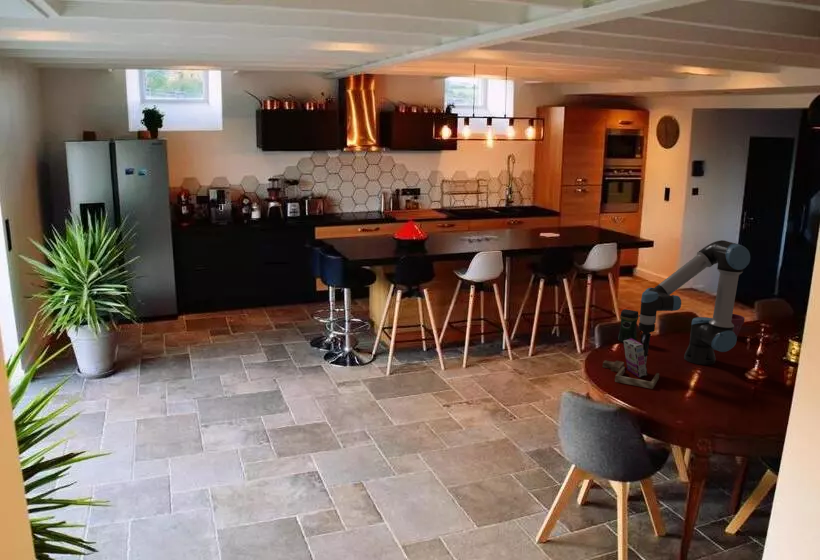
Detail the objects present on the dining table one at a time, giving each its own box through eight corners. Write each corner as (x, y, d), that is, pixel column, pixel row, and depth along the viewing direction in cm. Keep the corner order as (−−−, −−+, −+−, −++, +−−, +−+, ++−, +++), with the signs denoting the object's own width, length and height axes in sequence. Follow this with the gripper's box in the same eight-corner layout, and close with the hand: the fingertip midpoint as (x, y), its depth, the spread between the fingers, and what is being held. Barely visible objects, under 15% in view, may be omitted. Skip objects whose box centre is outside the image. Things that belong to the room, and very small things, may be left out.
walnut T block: (623, 366, 350) (624, 362, 349) (619, 372, 341) (619, 367, 341) (605, 363, 354) (606, 358, 353) (600, 368, 345) (601, 364, 345)
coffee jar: (638, 341, 391) (641, 310, 387) (633, 345, 385) (636, 313, 381) (621, 338, 397) (624, 307, 393) (616, 341, 391) (619, 310, 387)
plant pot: (738, 334, 409) (741, 313, 406) (744, 341, 396) (747, 320, 393) (713, 332, 412) (715, 311, 409) (717, 339, 399) (720, 318, 396)
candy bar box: (648, 375, 335) (644, 344, 330) (639, 378, 334) (634, 347, 329) (635, 367, 345) (631, 337, 341) (627, 370, 344) (622, 340, 340)
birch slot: (658, 379, 333) (659, 373, 332) (652, 388, 320) (653, 382, 319) (622, 372, 341) (622, 366, 341) (614, 381, 328) (615, 375, 328)
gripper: (642, 318, 344) (637, 363, 349) (636, 324, 333) (631, 370, 338) (657, 320, 340) (652, 366, 345) (652, 327, 329) (647, 373, 334)
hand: (642, 368), depth 341 cm, fingers closed
